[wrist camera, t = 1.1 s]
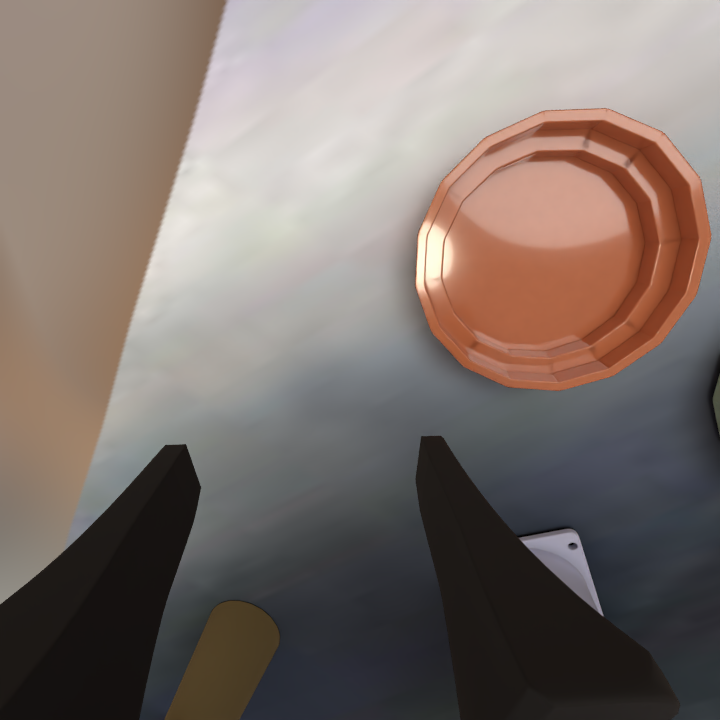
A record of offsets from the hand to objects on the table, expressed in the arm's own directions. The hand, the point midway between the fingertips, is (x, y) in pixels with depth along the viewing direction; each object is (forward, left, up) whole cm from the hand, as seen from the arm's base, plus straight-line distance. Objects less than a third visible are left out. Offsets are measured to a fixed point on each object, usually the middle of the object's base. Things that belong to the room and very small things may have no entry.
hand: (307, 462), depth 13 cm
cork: (-18, +18, -12) cm, 28 cm away
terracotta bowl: (+2, -10, -12) cm, 16 cm away
